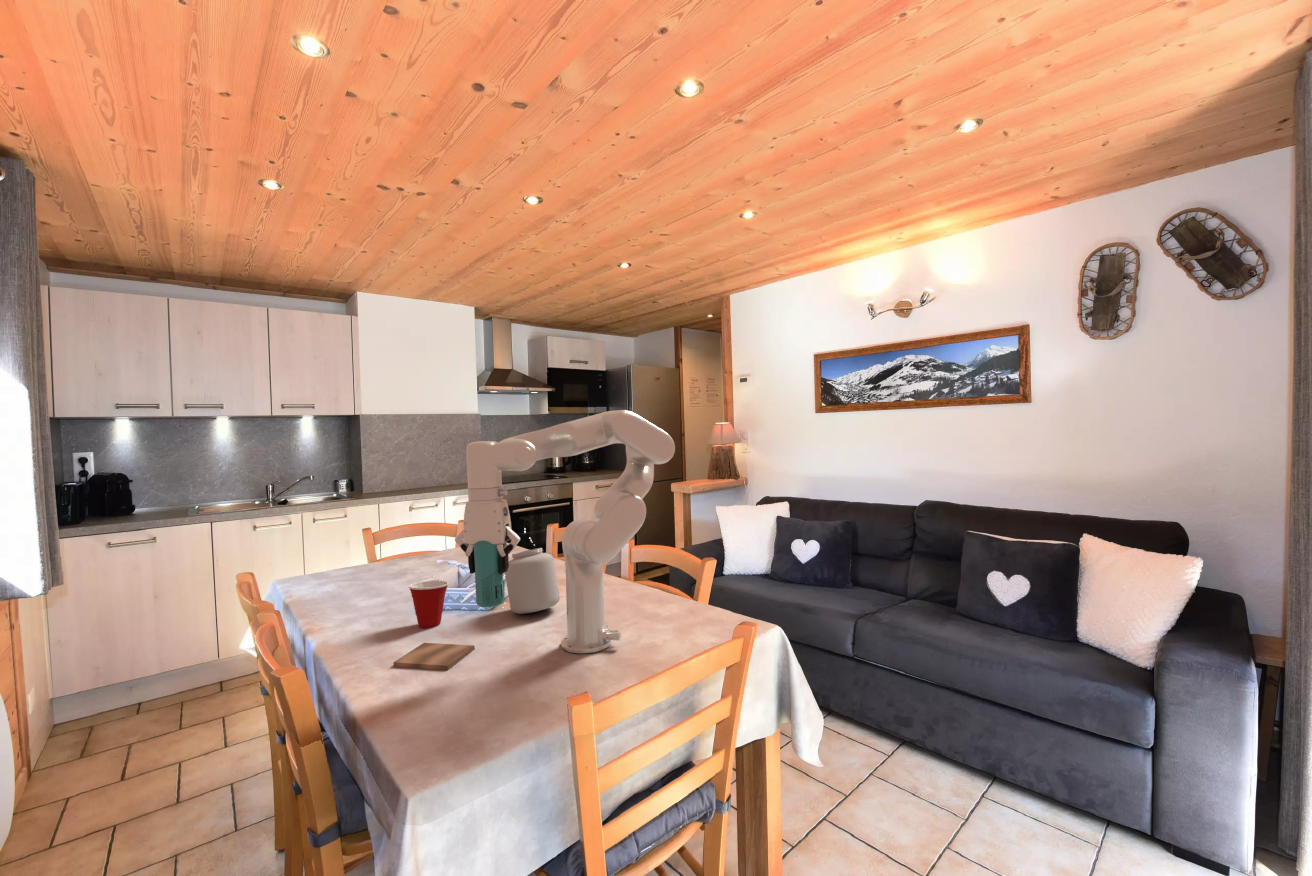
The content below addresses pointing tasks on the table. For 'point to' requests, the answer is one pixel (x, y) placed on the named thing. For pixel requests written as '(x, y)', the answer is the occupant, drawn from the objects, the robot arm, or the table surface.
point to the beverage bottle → (488, 575)
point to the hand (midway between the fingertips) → (488, 571)
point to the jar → (532, 581)
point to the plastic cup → (428, 601)
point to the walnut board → (434, 656)
